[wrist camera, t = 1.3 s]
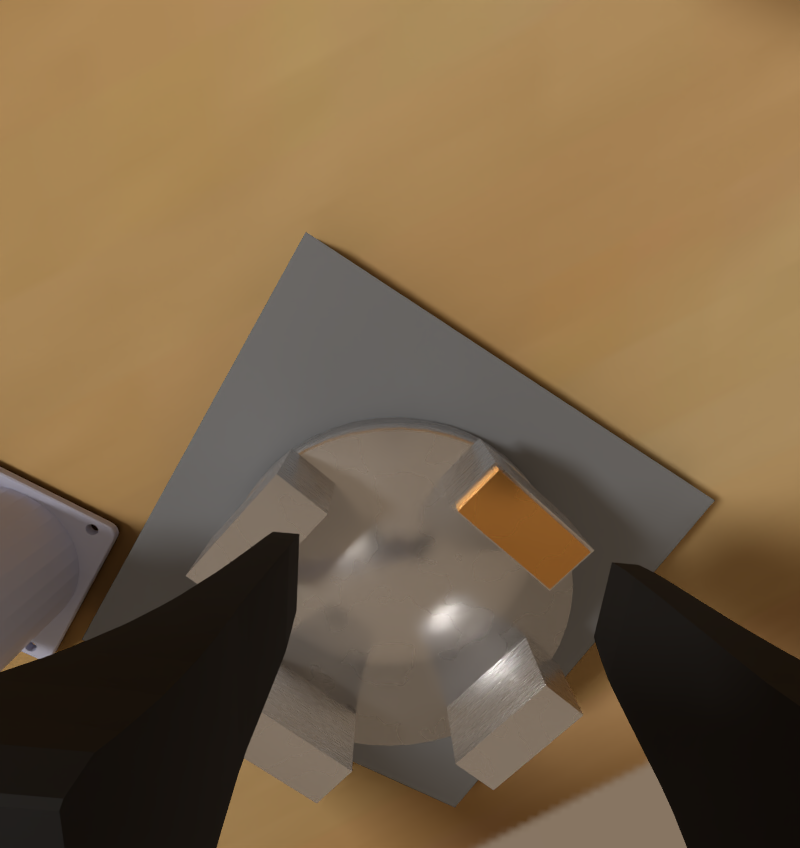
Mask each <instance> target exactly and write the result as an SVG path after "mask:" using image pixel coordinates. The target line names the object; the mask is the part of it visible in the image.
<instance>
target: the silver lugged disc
mask: <svg viewBox="0 0 800 848" xmlns="http://www.w3.org/2000/svg"><path fill="white" fill-rule="evenodd" d="M272 532H283V533H295V534H299V560H298V586H297V611H296V615H295V619H294V622H293V626H292V630H291V634H290V638H289V641H288V645H287V649H286V652H285V655H284V657H283V660H282V663H281V665H280V668H279V670H278V673H277V675H276V678H275V680H274V683H273V685H272V688H271V690H270V693H269V695H268V698H267V700H266V703H265V705H264V708H263V710H262V713H261V715H260V718H259V720H258V723H257V725H256V728H255V730H254V733H253V735H252V738H251V740H250V743H249V745H248V748H247V751H246V753H245V756H244V758H245V759H246V760H248V761H250V762H251V763H253V764H254V765H256V766H258V767H259V768H261V769H262V770H264V771H266V772H267V773H269V774H270V775H272V776H274V777H275V778H277V779H278V780H280V781H282V782H283V783H285V784H287V785H288V786H290V787H291V788H293V789H295V790H296V791H298V792H299V793H301V794H303V795H304V796H306V797H307V798H309V799H311V800H312V801H314V802H315V803H318V802H319V801H320V800H321V799H322V798H323V797H324V796H325V795H327V794H328V793H329V792H330V791H331V790H332V789H333V788H334V787H335V786H336V785H338V784H339V783H340V782H341V781H342V780H343V779H344V778H345V777H346V776H347V775H349V774H350V773H351V772H352V762H353V746H354V743H359V744H366V745H382V746H395V745H411V744H418V743H424V742H430V741H434V740H438V739H442V738H446V737H449V736H451V738H452V745H453V751H454V757H455V764H456V765H458V766H459V767H461V768H462V769H464V770H465V771H466V772H468V773H469V774H471V775H472V776H474V777H475V778H476V779H478V780H479V781H481V782H482V783H484V784H485V785H487V786H488V787H489V788H491V789H492V790H494V789H496V788H497V787H498V786H499V785H500V784H502V783H503V782H504V781H505V780H506V779H508V778H509V777H510V776H511V775H512V774H514V773H515V772H516V771H517V770H518V769H520V768H521V767H522V766H523V765H524V764H526V763H527V762H528V761H529V760H530V759H532V758H533V757H534V756H535V755H536V754H537V753H539V752H540V751H541V750H542V749H543V748H545V747H546V746H547V745H548V744H549V743H551V742H552V741H553V740H554V739H555V738H557V737H558V736H559V735H560V734H561V733H563V732H564V731H565V730H566V729H567V728H569V727H570V726H571V725H572V724H573V723H575V722H576V721H577V720H578V719H579V718H581V717H582V716H583V713H582V711H581V709H580V707H579V705H578V703H577V701H576V699H575V696H574V694H573V692H572V690H571V688H570V686H569V684H568V682H567V680H566V678H565V676H564V674H563V671H562V669H561V667H560V665H559V663H557V662H556V661H555V660H554V659H552V658H553V656H554V654H555V652H556V650H557V649H558V647H559V645H560V642H561V640H562V637H563V635H564V632H565V629H566V627H567V623H568V619H569V614H570V610H571V605H572V592H573V578H572V570H574V569H575V568H576V567H577V566H578V565H579V564H580V563H581V562H582V561H583V560H585V559H586V558H587V557H588V556H589V555H590V554H591V553H592V552H593V551H594V549H593V548H592V547H591V546H590V544H589V543H588V542H587V541H586V540H585V538H584V537H583V536H582V535H581V534H580V532H579V531H578V530H577V529H576V528H575V526H574V525H573V524H572V523H571V522H570V520H569V519H568V518H567V517H566V516H565V515H564V514H563V513H562V512H561V511H560V510H559V509H558V508H557V507H555V506H554V505H553V504H552V503H551V502H550V501H549V500H548V499H547V498H545V497H544V496H543V495H542V494H541V493H540V492H539V491H538V490H537V489H535V488H534V487H533V486H532V485H531V483H530V482H529V481H528V480H527V478H526V477H525V476H524V475H523V473H522V472H521V471H520V469H518V468H517V467H516V466H515V465H514V464H513V463H512V462H511V461H510V460H509V459H508V458H507V457H506V456H505V455H504V454H502V453H501V452H499V451H498V450H497V449H495V448H494V447H492V446H491V445H490V444H488V443H487V442H485V441H483V440H481V439H480V438H477V437H475V436H473V435H472V434H470V433H468V432H465V431H462V430H460V429H457V428H454V427H452V426H449V425H446V424H442V423H437V422H433V421H429V420H424V419H414V418H403V417H392V418H374V419H368V420H362V421H355V422H351V423H348V424H345V425H341V426H338V427H334V428H331V429H329V430H327V431H325V432H322V433H320V434H318V435H315V436H313V437H311V438H309V439H308V440H306V441H304V442H303V443H301V444H299V445H298V446H296V447H294V448H293V449H292V448H291V450H290V451H289V452H288V453H286V454H285V455H284V456H283V457H281V458H280V459H279V460H278V461H276V462H275V463H274V464H273V465H272V466H271V467H270V468H269V469H268V471H267V472H266V473H265V474H264V475H263V476H262V477H261V478H260V479H259V481H258V482H257V483H256V485H255V486H254V488H253V489H252V491H251V492H250V493H249V495H248V496H247V498H246V499H245V501H244V502H243V503H242V504H241V506H240V507H239V508H238V509H237V510H236V511H235V512H234V513H233V515H232V516H231V517H230V518H229V519H228V520H227V521H226V522H225V523H224V525H223V526H222V527H221V528H220V529H219V530H218V531H217V532H216V534H215V535H214V536H213V537H212V538H211V540H210V541H209V543H208V544H207V546H206V547H205V548H204V550H203V551H202V553H201V554H200V556H199V557H198V558H197V560H196V561H195V563H194V564H193V566H192V567H191V569H190V570H189V571H188V573H187V574H186V576H187V577H188V578H190V579H191V580H192V581H194V582H195V583H197V584H198V583H200V582H201V581H203V580H205V579H206V578H208V577H209V576H211V575H213V574H214V573H216V572H217V571H219V570H220V569H222V568H223V567H224V566H226V565H227V564H229V563H230V562H231V561H233V560H234V559H236V558H237V557H238V556H240V555H241V554H243V553H244V552H245V551H247V550H248V549H250V548H251V547H252V546H254V545H255V544H256V543H258V542H259V541H260V540H262V539H263V538H264V537H266V536H267V535H269V534H270V533H272Z"/></svg>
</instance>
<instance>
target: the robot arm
mask: <svg viewBox="0 0 800 848" xmlns="http://www.w3.org/2000/svg"><path fill="white" fill-rule="evenodd" d="M91 524H93V525H95V526H96V527H97V528H98V531H96V530H94V529H93V528H92V527H91ZM118 534H119V531H118V528H117V526H116V525H115V524H113V523H112V522H110V521H108V520H106V519H104V518H102V517H100V516H98V515H96V514H94V513H92V512H90V511H88V510H86V509H84V508H82V507H80V506H78V505H76V504H74V503H72V502H70V501H68V500H66V499H64V498H62V497H60V496H58V495H56V494H54V493H52V492H50V491H48V490H46V489H44V488H42V487H40V486H38V485H36V484H34V483H32V482H30V481H28V480H26V479H24V478H22V477H20V476H18V475H16V474H14V473H12V472H10V471H8V470H6V469H4V468H2V467H0V848H216V847H217V844H218V840H219V837H220V833H221V830H222V827H223V823H224V820H225V816H226V813H227V810H228V806H229V803H230V800H231V796H232V793H233V790H234V786H235V783H236V780H237V776H238V773H239V770H240V768H241V765H242V762H243V759H244V756H245V753H246V751H247V748H248V745H249V743H250V740H251V738H252V735H253V733H254V730H255V728H256V725H257V723H258V720H259V718H260V715H261V713H262V710H263V708H264V705H265V703H266V700H267V698H268V695H269V693H270V690H271V688H272V685H273V683H274V680H275V678H276V675H277V673H278V670H279V668H280V665H281V663H282V660H283V657H284V655H285V652H286V649H287V645H288V641H289V638H290V634H291V630H292V626H293V622H294V619H295V615H296V611H297V586H298V560H299V534H295V533H283V532H272V533H270V534H269V535H267V536H266V537H264V538H263V539H262V540H260V541H259V542H258V543H256V544H255V545H254V546H252V547H251V548H250V549H248V550H247V551H245V552H244V553H243V554H241V555H240V556H238V557H237V558H236V559H234V560H233V561H231V562H230V563H229V564H227V565H226V566H224V567H223V568H222V569H220V570H219V571H217V572H216V573H214V574H213V575H211V576H209V577H208V578H206V579H205V580H203V581H201V582H200V583H198V584H197V585H195V586H194V587H192V588H190V589H189V590H187V591H186V592H184V593H182V594H181V595H179V596H177V597H176V598H174V599H172V600H171V601H169V602H167V603H165V604H163V605H161V606H160V607H158V608H156V609H154V610H152V611H150V612H148V613H146V614H144V615H142V616H140V617H138V618H136V619H134V620H132V621H130V622H128V623H126V624H124V625H122V626H119V627H117V628H115V629H112V630H110V631H108V632H105V633H103V634H101V635H98V636H96V637H94V638H91V639H89V640H87V641H84V642H82V643H80V644H77V645H75V646H73V647H70V648H68V649H65V650H62V651H60V652H57V653H55V652H56V651H57V649H58V647H59V645H60V643H61V641H62V639H63V638H64V636H65V634H66V632H67V630H68V628H69V626H70V625H71V623H72V621H73V619H74V617H75V615H76V613H77V612H78V610H79V608H80V606H81V604H82V602H83V600H84V599H85V597H86V595H87V593H88V591H89V589H90V587H91V585H92V584H93V582H94V580H95V578H96V576H97V574H98V572H99V571H100V569H101V567H102V565H103V563H104V561H105V559H106V558H107V556H108V554H109V552H110V550H111V548H112V546H113V545H114V543H115V541H116V539H117V537H118ZM594 639H595V642H596V645H597V649H598V652H599V655H600V658H601V661H602V664H603V666H604V669H605V672H606V675H607V677H608V680H609V682H610V684H611V686H612V688H613V691H614V693H615V695H616V697H617V699H618V701H619V703H620V705H621V707H622V709H623V711H624V713H625V715H626V717H627V719H628V721H629V723H630V725H631V727H632V729H633V731H634V733H635V735H636V737H637V739H638V741H639V743H640V745H641V747H642V749H643V751H644V753H645V755H646V757H647V759H648V761H649V763H650V765H651V767H652V769H653V771H654V773H655V774H656V777H657V778H658V780H659V783H660V785H661V787H662V789H663V791H664V793H665V795H666V798H667V800H668V802H669V804H670V806H671V809H672V811H673V813H674V815H675V818H676V821H677V823H678V826H679V828H680V830H681V833H682V835H683V838H684V840H685V843H686V846H687V848H800V660H799V659H797V658H796V657H794V656H792V655H790V654H788V653H786V652H785V651H783V650H781V649H779V648H778V647H776V646H774V645H772V644H771V643H769V642H767V641H765V640H764V639H762V638H760V637H758V636H757V635H755V634H753V633H752V632H750V631H748V630H747V629H745V628H743V627H742V626H740V625H738V624H737V623H735V622H733V621H732V620H730V619H728V618H727V617H725V616H723V615H722V614H720V613H719V612H717V611H715V610H714V609H712V608H711V607H709V606H707V605H706V604H704V603H703V602H701V601H699V600H698V599H696V598H695V597H693V596H691V595H690V594H688V593H687V592H685V591H683V590H682V589H680V588H679V587H677V586H675V585H674V584H672V583H671V582H669V581H667V580H666V579H664V578H662V577H661V576H659V575H657V574H655V573H654V572H652V571H650V570H648V569H646V568H644V567H642V566H640V565H636V564H625V563H614V562H612V564H611V568H610V572H609V576H608V581H607V585H606V589H605V593H604V597H603V601H602V605H601V609H600V613H599V617H598V622H597V626H596V630H595V634H594ZM32 642H33V643H34V644H36V645H34V644H33V643H32ZM21 651H22V652H24V653H26V654H29V655H31V656H33V657H36V658H38V660H35V661H32V662H29V663H26V664H23V665H20V666H17V667H15V668H12V669H9V670H6V671H3V672H1V671H2V670H3V669H4V668H5V667H6V666H7V665H8V664H9V663H10V662H11V661H12V660H13V659H14V658H15V657H16V656H17V655H18V654H19V653H20V652H21Z"/></svg>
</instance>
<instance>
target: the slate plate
mask: <svg viewBox="0 0 800 848" xmlns="http://www.w3.org/2000/svg"><path fill="white" fill-rule="evenodd" d="M392 417H403V418H414V419H424V420H429V421H433V422H437V423H442V424H446V425H449V426H452V427H454V428H457V429H460V430H462V431H465V432H468V433H470V434H472V435H473V436H475V437H477V438H480V439H481V440H483V441H485V442H487V443H488V444H490V445H491V446H492V447H494V448H495V449H497V450H498V451H499V452H501V453H502V454H504V455H505V456H506V457H507V458H508V459H509V460H510V461H511V462H512V463H513V464H514V465H515V466H516V467H517V468H518V469H520V471H521V472H522V473H523V475H524V476H525V477H526V478H527V480H528V481H529V482H530V483H531V485H532V486H533V487H534V488H535V489H537V490H538V491H539V492H540V493H541V494H542V495H543V496H544V497H545V498H547V499H548V500H549V501H550V502H551V503H552V504H553V505H554V506H555V507H557V508H558V509H559V510H560V511H561V512H562V513H563V514H564V515H565V516H566V517H567V518H568V519H569V520H570V522H571V523H572V524H573V525H574V526H575V528H576V529H577V530H578V531H579V532H580V534H581V535H582V536H583V537H584V538H585V540H586V541H587V542H588V543H589V544H590V546H591V547H592V548H593V549H594V551H593V552H592V553H591V554H590V555H589V556H588V557H587V558H586V559H585V560H583V561H582V562H581V563H580V564H579V565H578V566H577V567H576V568H575V569H574V570H572V578H573V592H572V605H571V610H570V614H569V619H568V623H567V627H566V629H565V632H564V635H563V637H562V640H561V642H560V645H559V647H558V649H557V650H556V652H555V654H554V656H553V658H552V659H554V660H555V661H556V662H557V663H559V665H560V667H561V669H562V671H563V674H564V676H565V677H566V675H567V674H568V673H569V672H570V671H571V670H572V668H573V667H574V666H575V665H576V664H577V662H578V661H579V660H580V659H581V658H582V657H583V655H584V654H585V653H586V652H587V651H588V649H589V648H590V647H591V646H592V645H593V644H594V642H595V639H594V634H595V630H596V626H597V622H598V617H599V613H600V609H601V605H602V601H603V597H604V593H605V589H606V585H607V581H608V576H609V572H610V568H611V564H612V562H614V563H625V564H636V565H640V566H642V567H644V568H646V569H648V570H650V571H652V572H654V571H655V570H656V569H657V568H658V567H659V566H660V564H661V563H662V562H663V561H664V560H665V558H666V557H667V556H668V555H669V554H670V553H671V551H672V550H673V549H674V548H675V547H676V545H677V544H678V543H679V542H680V541H681V540H682V538H683V537H684V536H685V535H686V534H687V532H688V531H689V530H690V529H691V528H692V527H693V525H694V524H695V523H696V522H697V521H698V519H699V518H700V517H701V516H702V515H703V514H704V512H705V511H706V510H707V509H708V508H709V506H710V505H711V504H712V503H713V502H714V501H715V500H713V499H712V498H710V497H709V496H707V495H706V494H704V493H703V492H701V491H699V490H698V489H696V488H695V487H693V486H692V485H690V484H689V483H687V482H686V481H684V480H683V479H681V478H680V477H678V476H677V475H675V474H674V473H672V472H671V471H669V470H667V469H666V468H664V467H663V466H661V465H660V464H658V463H657V462H655V461H654V460H652V459H651V458H649V457H648V456H646V455H645V454H643V453H642V452H640V451H639V450H637V449H636V448H634V447H632V446H631V445H629V444H628V443H626V442H625V441H623V440H622V439H620V438H619V437H617V436H616V435H614V434H613V433H611V432H610V431H608V430H607V429H605V428H604V427H602V426H600V425H599V424H597V423H596V422H594V421H593V420H591V419H590V418H588V417H587V416H585V415H584V414H582V413H581V412H579V411H578V410H576V409H575V408H573V407H572V406H570V405H569V404H567V403H565V402H564V401H562V400H561V399H559V398H558V397H556V396H555V395H553V394H552V393H550V392H549V391H547V390H546V389H544V388H543V387H541V386H540V385H538V384H537V383H535V382H533V381H532V380H530V379H529V378H527V377H526V376H524V375H523V374H521V373H520V372H518V371H517V370H515V369H514V368H512V367H511V366H509V365H508V364H506V363H505V362H503V361H502V360H500V359H498V358H497V357H495V356H494V355H492V354H491V353H489V352H488V351H486V350H485V349H483V348H482V347H480V346H479V345H477V344H476V343H474V342H473V341H471V340H470V339H468V338H466V337H465V336H463V335H462V334H460V333H459V332H457V331H456V330H454V329H453V328H451V327H450V326H448V325H447V324H445V323H444V322H442V321H441V320H439V319H438V318H436V317H435V316H433V315H431V314H430V313H428V312H427V311H425V310H424V309H422V308H421V307H419V306H418V305H416V304H415V303H413V302H412V301H410V300H409V299H407V298H406V297H404V296H403V295H401V294H399V293H398V292H396V291H395V290H393V289H392V288H390V287H389V286H387V285H386V284H384V283H383V282H381V281H380V280H378V279H377V278H375V277H374V276H372V275H371V274H369V273H368V272H366V271H364V270H363V269H361V268H360V267H358V266H357V265H355V264H354V263H352V262H351V261H349V260H348V259H346V258H345V257H343V256H342V255H340V254H339V253H337V252H336V251H334V250H333V249H331V248H329V247H328V246H326V245H325V244H323V243H322V242H320V241H319V240H317V239H316V238H314V237H313V236H311V235H310V234H308V233H307V232H306V233H305V234H304V236H303V238H302V240H301V242H300V243H299V245H298V247H297V249H296V251H295V253H294V254H293V256H292V258H291V260H290V262H289V264H288V265H287V267H286V269H285V271H284V273H283V274H282V276H281V278H280V280H279V282H278V284H277V285H276V287H275V289H274V291H273V293H272V294H271V296H270V298H269V300H268V302H267V304H266V305H265V307H264V309H263V311H262V313H261V314H260V316H259V318H258V320H257V322H256V324H255V325H254V327H253V329H252V331H251V333H250V335H249V336H248V338H247V340H246V342H245V344H244V345H243V347H242V349H241V351H240V353H239V355H238V356H237V358H236V360H235V362H234V364H233V365H232V367H231V369H230V371H229V373H228V375H227V376H226V378H225V380H224V382H223V384H222V385H221V387H220V389H219V391H218V393H217V395H216V396H215V398H214V400H213V402H212V404H211V406H210V407H209V409H208V411H207V413H206V415H205V416H204V418H203V420H202V422H201V424H200V426H199V427H198V429H197V431H196V433H195V435H194V436H193V438H192V440H191V442H190V444H189V446H188V447H187V449H186V451H185V453H184V455H183V456H182V458H181V460H180V462H179V464H178V466H177V467H176V469H175V471H174V473H173V475H172V477H171V478H170V480H169V482H168V484H167V486H166V487H165V489H164V491H163V493H162V495H161V497H160V498H159V500H158V502H157V504H156V506H155V507H154V509H153V511H152V513H151V515H150V517H149V518H148V520H147V522H146V524H145V526H144V527H143V529H142V531H141V533H140V535H139V537H138V538H137V540H136V542H135V544H134V546H133V548H132V549H131V551H130V553H129V555H128V557H127V558H126V560H125V562H124V564H123V566H122V568H121V569H120V571H119V573H118V575H117V577H116V578H115V580H114V582H113V584H112V586H111V588H110V589H109V591H108V593H107V595H106V597H105V598H104V600H103V602H102V604H101V606H100V608H99V609H98V611H97V613H96V615H95V617H94V619H93V620H92V622H91V624H90V626H89V628H88V629H87V631H86V633H85V635H84V637H83V639H82V640H84V641H87V640H89V639H91V638H94V637H96V636H98V635H101V634H103V633H105V632H108V631H110V630H112V629H115V628H117V627H119V626H122V625H124V624H126V623H128V622H130V621H132V620H134V619H136V618H138V617H140V616H142V615H144V614H146V613H148V612H150V611H152V610H154V609H156V608H158V607H160V606H161V605H163V604H165V603H167V602H169V601H171V600H172V599H174V598H176V597H177V596H179V595H181V594H182V593H184V592H186V591H187V590H189V589H190V588H192V587H194V586H195V585H197V583H195V582H194V581H192V580H191V579H190V578H188V577H187V576H186V574H187V573H188V571H189V570H190V569H191V567H192V566H193V564H194V563H195V561H196V560H197V558H198V557H199V556H200V554H201V553H202V551H203V550H204V548H205V547H206V546H207V544H208V543H209V541H210V540H211V538H212V537H213V536H214V535H215V534H216V532H217V531H218V530H219V529H220V528H221V527H222V526H223V525H224V523H225V522H226V521H227V520H228V519H229V518H230V517H231V516H232V515H233V513H234V512H235V511H236V510H237V509H238V508H239V507H240V506H241V504H242V503H243V502H244V501H245V499H246V498H247V496H248V495H249V493H250V492H251V491H252V489H253V488H254V486H255V485H256V483H257V482H258V481H259V479H260V478H261V477H262V476H263V475H264V474H265V473H266V472H267V471H268V469H269V468H270V467H271V466H272V465H273V464H274V463H275V462H276V461H278V460H279V459H280V458H281V457H283V456H284V455H285V454H286V453H288V452H289V451H290V450H291V448H292V449H293V448H294V447H296V446H298V445H299V444H301V443H303V442H304V441H306V440H308V439H309V438H311V437H313V436H315V435H318V434H320V433H322V432H325V431H327V430H329V429H331V428H334V427H338V426H341V425H345V424H348V423H351V422H355V421H362V420H368V419H374V418H392ZM353 762H355V763H357V764H359V765H362V766H364V767H366V768H368V769H371V770H373V771H375V772H377V773H379V774H382V775H384V776H386V777H388V778H391V779H393V780H395V781H397V782H399V783H402V784H404V785H406V786H408V787H411V788H413V789H415V790H417V791H419V792H422V793H424V794H426V795H428V796H431V797H433V798H435V799H437V800H439V801H442V802H444V803H446V804H448V805H451V806H453V807H456V805H457V804H458V803H459V802H460V801H461V800H462V798H463V797H464V796H465V795H466V794H467V792H468V791H469V790H470V789H471V788H472V787H473V785H474V784H475V783H476V782H477V781H478V779H476V778H475V777H474V776H472V775H471V774H469V773H468V772H466V771H465V770H464V769H462V768H461V767H459V766H458V765H456V764H455V757H454V751H453V745H452V738H451V736H449V737H446V738H442V739H438V740H434V741H430V742H424V743H418V744H411V745H395V746H382V745H366V744H359V743H354V746H353Z"/></svg>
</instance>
